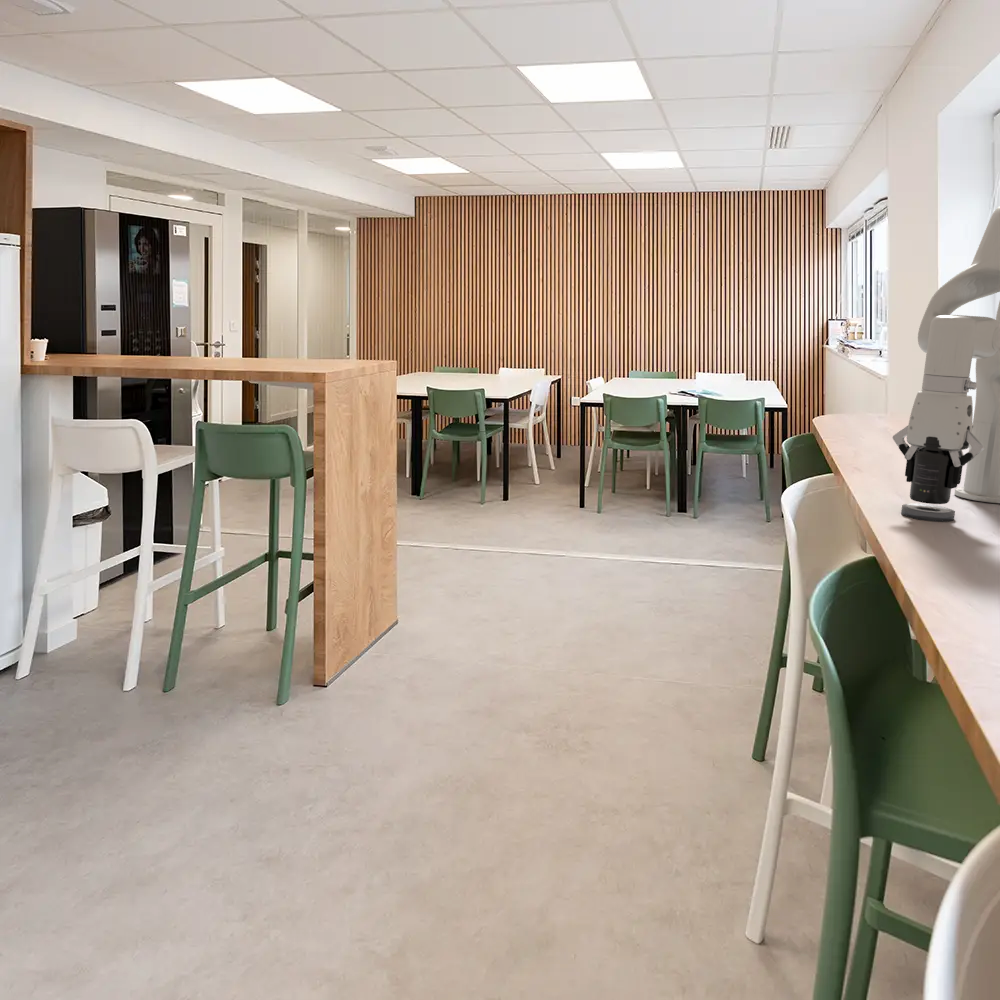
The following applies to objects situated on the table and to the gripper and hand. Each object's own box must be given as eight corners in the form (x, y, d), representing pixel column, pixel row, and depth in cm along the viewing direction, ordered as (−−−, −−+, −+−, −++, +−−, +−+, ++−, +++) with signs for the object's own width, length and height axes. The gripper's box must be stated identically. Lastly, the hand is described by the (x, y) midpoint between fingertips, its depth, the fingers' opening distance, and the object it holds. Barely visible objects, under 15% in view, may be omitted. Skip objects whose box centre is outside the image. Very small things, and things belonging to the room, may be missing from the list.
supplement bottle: (915, 495, 190) (924, 432, 188) (953, 501, 186) (963, 436, 183) (903, 500, 185) (912, 434, 182) (942, 506, 180) (952, 439, 178)
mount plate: (912, 509, 192) (913, 500, 192) (961, 517, 186) (962, 509, 186) (893, 514, 186) (894, 506, 185) (943, 523, 180) (944, 515, 179)
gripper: (1003, 390, 178) (988, 490, 181) (905, 381, 190) (892, 475, 193) (988, 391, 173) (973, 494, 176) (888, 381, 184) (876, 478, 188)
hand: (931, 483), depth 184 cm, fingers closed on supplement bottle, 6 cm apart
